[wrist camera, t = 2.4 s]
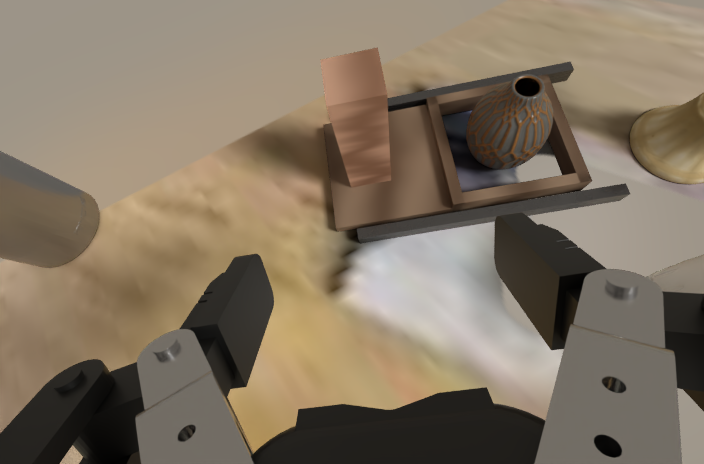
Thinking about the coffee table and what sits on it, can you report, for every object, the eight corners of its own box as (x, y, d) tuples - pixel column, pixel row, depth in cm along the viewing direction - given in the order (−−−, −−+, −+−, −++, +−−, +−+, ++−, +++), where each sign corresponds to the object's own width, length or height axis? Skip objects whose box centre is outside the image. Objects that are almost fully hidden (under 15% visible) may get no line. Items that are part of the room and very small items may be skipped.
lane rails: (360, 243, 32) (358, 238, 31) (341, 116, 37) (339, 107, 36) (619, 200, 30) (630, 193, 29) (563, 73, 35) (570, 61, 34)
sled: (337, 231, 33) (301, 165, 20) (325, 130, 37) (288, 23, 24) (580, 190, 31) (699, 90, 19) (539, 88, 35) (615, -50, 23)
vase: (448, 136, 35) (464, 71, 26) (509, 110, 35) (544, 38, 26) (481, 190, 32) (510, 138, 24) (546, 163, 32) (597, 101, 24)
